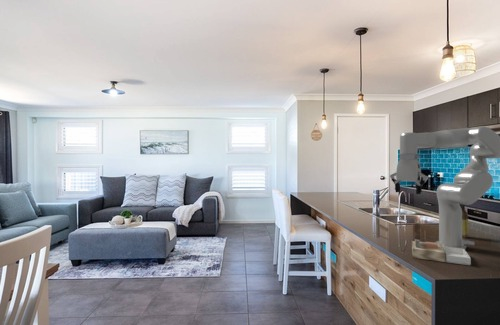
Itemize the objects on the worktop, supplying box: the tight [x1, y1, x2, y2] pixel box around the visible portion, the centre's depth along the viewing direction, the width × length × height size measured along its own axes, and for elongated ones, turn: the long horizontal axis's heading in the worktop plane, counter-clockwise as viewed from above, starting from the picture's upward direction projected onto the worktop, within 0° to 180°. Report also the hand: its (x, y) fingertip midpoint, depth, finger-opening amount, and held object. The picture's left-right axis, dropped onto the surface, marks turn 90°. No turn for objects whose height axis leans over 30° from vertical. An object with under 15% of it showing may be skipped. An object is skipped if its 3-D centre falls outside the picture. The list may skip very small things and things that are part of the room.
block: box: [424, 241, 438, 249], centre depth 127 cm, size 4×4×2 cm
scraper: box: [413, 222, 421, 248], centre depth 129 cm, size 2×9×10 cm, turn 151°
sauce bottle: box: [459, 204, 470, 239], centre depth 158 cm, size 7×6×20 cm
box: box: [443, 247, 472, 267], centre depth 122 cm, size 8×14×3 cm, turn 151°
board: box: [411, 240, 447, 263], centre depth 127 cm, size 12×14×4 cm
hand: (407, 193), depth 137 cm, fingers open, 9 cm apart
